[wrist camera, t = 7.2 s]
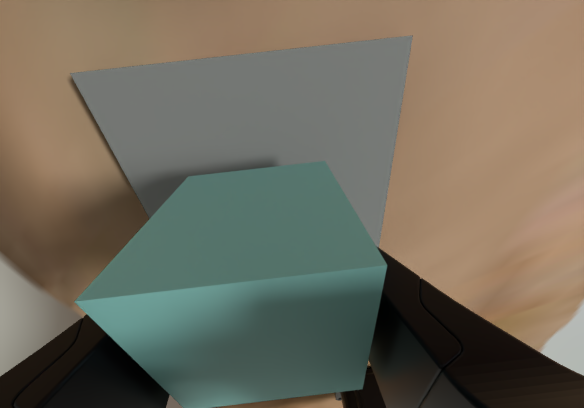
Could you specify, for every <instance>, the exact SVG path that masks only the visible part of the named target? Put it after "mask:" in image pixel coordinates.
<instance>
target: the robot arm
mask: <svg viewBox="0 0 584 408" xmlns="http://www.w3.org/2000/svg"><path fill="white" fill-rule="evenodd" d="M376 247H377V246H376ZM377 249H378V250H379V252H380V254H381V255H382V257H383V259H384V260H385V262H386V264H387V269H386V274H385V279H384V284H383V289H382V294H381V299H380V304H379V309H378V314H377V319H376V324H375V329H374V334H373V339H372V344H371V349H370V354H369V362H370V364H371V367H372V369H367V370H366V374H365V379H364V384H363V389H361V390H352V391H344V392H336V393H335V397H336V400H342V404H343V408H584V376H583V375H581V374H579V373H576V372H574V371H572V370H570V369H568V368H566V367H564V366H563V365H560V364H559V363H557V362H555V361H553V360H552V359H550V358H548V357H546V356H545V355H543V354H541V353H540V352H538V351H537V350H535V349H533V348H532V347H530V346H528V345H527V344H525V343H523V342H522V341H520V340H518V339H517V338H515V337H513V336H512V335H510V334H508V333H507V332H505V331H503V330H502V329H500V328H498V327H497V326H495V325H494V324H492V323H490V322H489V321H487V320H485V319H484V318H482V317H480V316H479V315H477V314H475V313H474V312H472V311H471V310H469V309H467V308H466V307H464V306H463V305H461V304H459V303H458V302H456V301H455V300H453V299H452V298H450V297H449V296H447V295H446V294H444V293H443V292H441V291H440V290H438V289H437V288H435V287H434V286H432V285H431V284H430V283H428V282H427V281H425V280H424V279H422V278H421V279H420V277H419V276H418V275H417V274H415V273H414V272H412V271H411V270H410V269H408V268H407V267H405V266H404V265H402V264H401V263H400V262H398V261H397V260H395V259H394V258H392V257H391V256H390V255H388V254H387V253H385V252H384V251H383V250H381V249H380V248H378V247H377ZM169 395H170V394H169V393H168V392H167V391H166V390H165V389H164V388H163V387H161V386H160V385H159V384H158V383H157V382H156V381H155V380H154V379H153V378H152V377H151V376H150V375H149V374H148V373H147V372H146V371H145V370H144V369H143V368H142V367H141V366H140V365H139V364H138V363H137V362H136V361H135V360H134V359H133V358H132V357H131V356H130V355H129V354H128V353H127V352H126V351H124V350H123V349H122V348H121V347H120V346H119V345H118V344H117V343H116V342H115V341H114V340H113V339H112V338H111V337H110V336H109V335H108V334H107V333H106V332H105V331H104V330H103V329H102V328H101V327H100V326H99V325H98V324H97V323H96V322H95V321H94V320H93V319H92V318H91V317H90V316H89V315H87V314H86V315H85V316H84V318H81V319H80V320H78V321H77V322H76V323H74V324H73V325H72V326H70V327H69V328H68V329H67V330H65V331H64V332H62V333H61V334H60V335H58V336H57V337H55V338H54V339H53V340H51V341H50V342H49V343H47V344H46V345H45V346H43V347H42V348H41V349H39V350H38V351H36V352H35V353H33V354H32V355H30V356H29V357H28V358H26V359H25V360H23V361H22V362H21V363H19V364H18V365H16V366H15V367H13V368H12V369H11V370H9V371H8V372H6V373H5V374H3V375H2V376H0V408H166V405H167V401H168V398H169Z"/></svg>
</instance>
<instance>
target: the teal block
mask: <svg viewBox="0 0 584 408" xmlns="http://www.w3.org/2000/svg"><path fill="white" fill-rule="evenodd" d="M386 269H387V264H386V262H385V260H384V259H383V257H382V255H381V254H380V252H379V250H378V249H377V247H376V245H375V244H374V242H373V240H372V239H371V237H370V235H369V234H368V232H367V230H366V229H365V227H364V225H363V224H362V222H361V220H360V219H359V217H358V215H357V214H356V212H355V210H354V209H353V207H352V205H351V204H350V202H349V200H348V199H347V197H346V195H345V194H344V192H343V190H342V189H341V187H340V185H339V184H338V182H337V180H336V179H335V177H334V175H333V174H332V172H331V170H330V169H329V167H328V165H327V164H326V162H325V161H320V162H311V163H302V164H293V165H284V166H275V167H267V168H258V169H249V170H240V171H231V172H222V173H213V174H205V175H196V176H188V177H187V178H186V179H185V181H184V182H183V183H182V184H181V185H180V186H179V187H178V188H177V189H176V190H175V192H174V193H173V194H172V195H171V196H170V197H169V198H168V199H167V200H166V201H165V203H164V204H163V205H162V206H161V207H160V208H159V209H158V210H157V211H156V212H155V214H154V215H153V216H152V217H151V218H150V219H149V220H148V221H147V222H146V223H145V225H144V226H143V227H142V228H141V229H140V230H139V231H138V232H137V233H136V234H135V236H134V237H133V238H132V239H131V240H130V241H129V242H128V243H127V244H126V245H125V247H124V248H123V249H122V250H121V251H120V252H119V253H118V254H117V255H116V256H115V258H114V259H113V260H112V261H111V262H110V263H109V264H108V265H107V266H106V267H105V269H104V270H103V271H102V272H101V273H100V274H99V275H98V276H97V277H96V278H95V280H94V281H93V282H92V283H91V284H90V285H89V286H88V287H87V288H86V289H85V291H84V292H83V293H82V294H81V295H80V296H79V297H78V298H77V299H76V300H75V303H76V304H77V305H78V306H79V307H80V308H81V309H82V310H83V311H84V312H85V313H86V314H87V315H89V316H90V317H91V318H92V319H93V320H94V321H95V322H96V323H97V324H98V325H99V326H100V327H101V328H102V329H103V330H104V331H105V332H106V333H107V334H108V335H109V336H110V337H111V338H112V339H113V340H114V341H115V342H116V343H117V344H118V345H119V346H120V347H121V348H122V349H123V350H124V351H126V352H127V353H128V354H129V355H130V356H131V357H132V358H133V359H134V360H135V361H136V362H137V363H138V364H139V365H140V366H141V367H142V368H143V369H144V370H145V371H146V372H147V373H148V374H149V375H150V376H151V377H152V378H153V379H154V380H155V381H156V382H157V383H158V384H159V385H160V386H161V387H163V388H164V389H165V390H166V391H167V392H168V393H169V394H170V395H171V396H172V397H173V398H174V399H175V400H176V401H177V402H178V403H179V404H180V405H181V406H182V407H183V408H212V407H220V406H228V405H237V404H245V403H253V402H261V401H270V400H278V399H286V398H294V397H303V396H311V395H319V394H327V393H336V392H344V391H352V390H361V389H363V384H364V379H365V374H366V369H367V364H368V359H369V354H370V349H371V344H372V339H373V334H374V329H375V324H376V319H377V314H378V309H379V304H380V299H381V294H382V289H383V284H384V279H385V274H386Z"/></svg>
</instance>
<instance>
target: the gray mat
mask: <svg viewBox="0 0 584 408" xmlns="http://www.w3.org/2000/svg"><path fill="white" fill-rule="evenodd" d="M412 37H413V36H404V37H395V38H386V39H377V40H368V41H358V42H349V43H340V44H331V45H322V46H313V47H304V48H295V49H286V50H277V51H268V52H259V53H250V54H240V55H231V56H222V57H213V58H204V59H195V60H186V61H177V62H168V63H159V64H150V65H141V66H132V67H122V68H113V69H104V70H95V71H86V72H77V73H70V74H71V76H72V78H73V80H74V82H75V83H76V85H77V87H78V89H79V91H80V93H81V94H82V96H83V98H84V100H85V102H86V103H87V105H88V107H89V109H90V111H91V113H92V114H93V116H94V118H95V120H96V122H97V124H98V125H99V127H100V129H101V131H102V133H103V135H104V136H105V138H106V140H107V142H108V144H109V146H110V147H111V149H112V151H113V153H114V155H115V156H116V158H117V160H118V162H119V164H120V166H121V167H122V169H123V171H124V173H125V175H126V177H127V178H128V180H129V182H130V184H131V186H132V188H133V189H134V191H135V193H136V195H137V197H138V199H139V200H140V202H141V204H142V206H143V208H144V209H145V211H146V213H147V215H148V217H149V219H150V218H151V217H152V216H153V215H154V214H155V212H156V211H157V210H158V209H159V208H160V207H161V206H162V205H163V204H164V203H165V201H166V200H167V199H168V198H169V197H170V196H171V195H172V194H173V193H174V192H175V190H176V189H177V188H178V187H179V186H180V185H181V184H182V183H183V182H184V181H185V179H186V178H187V177H188V176H196V175H205V174H213V173H222V172H231V171H240V170H249V169H258V168H267V167H275V166H284V165H293V164H302V163H311V162H320V161H325V162H326V164H327V165H328V167H329V169H330V170H331V172H332V174H333V175H334V177H335V179H336V180H337V182H338V184H339V185H340V187H341V189H342V190H343V192H344V194H345V195H346V197H347V199H348V200H349V202H350V204H351V205H352V207H353V209H354V210H355V212H356V214H357V215H358V217H359V219H360V220H361V222H362V224H363V225H364V227H365V229H366V230H367V232H368V234H369V235H370V237H371V239H372V240H373V242H374V244H375V245H376V246H377V247H378V248H379V243H380V236H381V230H382V224H383V218H384V211H385V205H386V199H387V193H388V186H389V180H390V174H391V168H392V161H393V155H394V149H395V143H396V136H397V130H398V124H399V118H400V112H401V105H402V99H403V93H404V87H405V80H406V74H407V68H408V62H409V55H410V49H411V43H412Z"/></svg>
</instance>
